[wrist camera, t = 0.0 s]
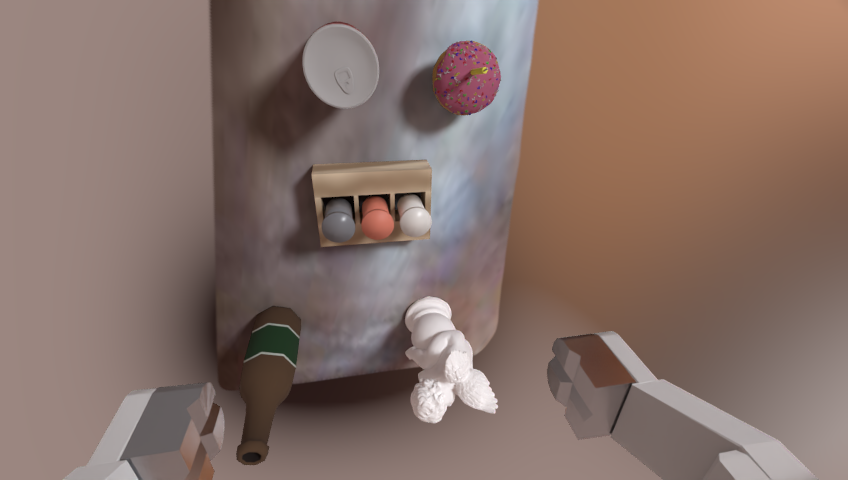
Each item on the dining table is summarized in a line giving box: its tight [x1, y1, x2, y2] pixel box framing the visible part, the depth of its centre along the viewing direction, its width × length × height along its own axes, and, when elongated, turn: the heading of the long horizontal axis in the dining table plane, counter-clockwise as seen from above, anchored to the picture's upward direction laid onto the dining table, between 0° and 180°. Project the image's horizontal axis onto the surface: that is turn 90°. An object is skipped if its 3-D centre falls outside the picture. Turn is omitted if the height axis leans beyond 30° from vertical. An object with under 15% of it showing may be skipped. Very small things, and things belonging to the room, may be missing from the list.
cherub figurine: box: [405, 296, 498, 423], centre depth 62 cm, size 12×12×22 cm
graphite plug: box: [322, 198, 355, 243], centre depth 53 cm, size 4×4×6 cm
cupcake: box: [432, 41, 501, 115], centre depth 47 cm, size 9×8×12 cm
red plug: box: [361, 196, 394, 240], centre depth 53 cm, size 4×4×6 cm
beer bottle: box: [236, 306, 301, 465], centre depth 57 cm, size 8×8×24 cm
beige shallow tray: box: [312, 160, 432, 247], centre depth 57 cm, size 11×16×4 cm
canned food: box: [302, 22, 379, 109], centre depth 44 cm, size 8×8×11 cm
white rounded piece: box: [397, 194, 432, 237], centre depth 54 cm, size 4×4×6 cm
